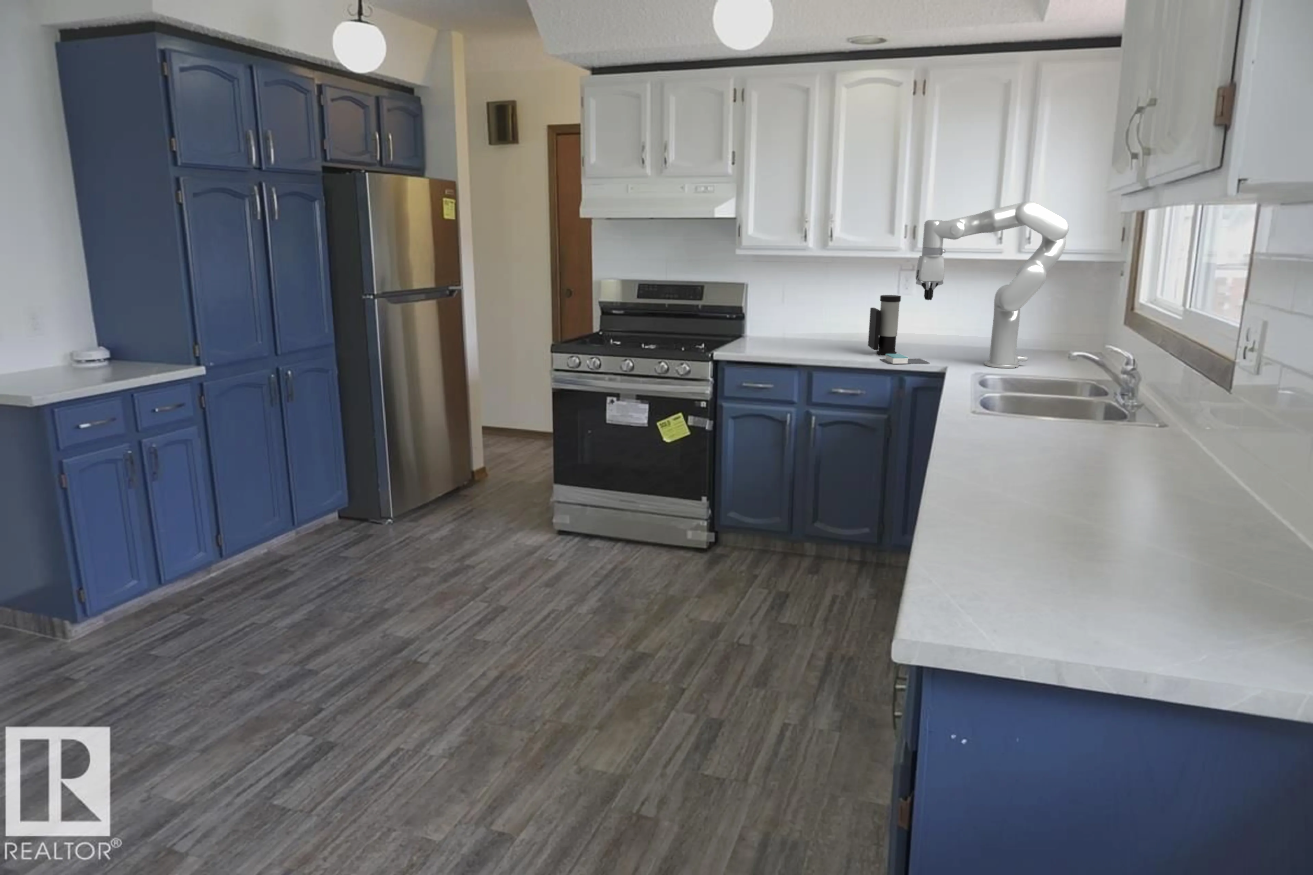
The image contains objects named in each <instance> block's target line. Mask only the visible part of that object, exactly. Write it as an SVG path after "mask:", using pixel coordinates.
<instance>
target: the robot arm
mask: <svg viewBox="0 0 1313 875" xmlns="http://www.w3.org/2000/svg"><path fill="white" fill-rule="evenodd" d="M1023 226H1027V227H1028V228H1030V229H1031V230H1032V231H1035V233H1038V234H1040V235H1041V237H1042V238H1041V243H1040V245H1039V246H1038V248H1037V249H1036V250H1035V251H1034V252H1033V254H1032V255H1031V256H1029V258H1028V259H1027V260H1026V261H1025V262H1024V263H1023V264H1022V265H1021V266H1020V267H1019V268H1018V270H1016V275H1015V277H1014V278H1013V279H1012V280H1011V282H1009V284H1004V285H1002V286H1000V287H999V288H998V289H997V290H996V292H995V294H994V302H993V318H992V327H991V339H990V345H989V346H990V348H989V358H988V360H985V361H984V365H985V366H988V367H991V368H992V367H993V368H1000V369H1014V368H1015V367H1016V368H1018V367H1019V365H1020V364H1019V363H1020V362H1027V361H1028V356H1026V355H1025V356H1023V355H1022V356H1020V355H1018V354H1017V344H1018V337H1019V326H1020V319H1021V316H1020V315H1021V308H1023V307H1024V306H1025V305H1026V303H1028V301H1030V299H1032V297H1033V296H1034V295H1036V293H1037V292H1038V291H1039V290H1040V289H1041V288H1042V287H1043V285H1044V284H1045V282H1046V280H1047V273H1048V272H1049V271H1050V269H1052V268H1053V267H1054V265H1055V264H1056V263H1057V262H1058V260H1059V259H1061V257H1062V255H1063V253H1064V250H1065V248H1066V242H1067V235H1068V234H1069V230H1070V228H1069V223H1068V221H1067V220H1066V219H1065V218H1063V217H1061V216H1060V215H1058V214H1056V213H1054V212H1053V211H1050V210H1049V209H1047V208H1045V207H1043V206H1042V205H1040V204H1038V203H1037V202H1034V201H1024V202H1020V203H1015V204H1010V205H1006V206H1003V207H1002V206H1000V207H997V208H992V209H988V210H985V211H982V212H979V213H975V214H971V215H966V216H963V217H958V218H954V219H949V220H940V219H927V220H925V222H924V225H923V237H922V247H921V249H922V250H921V255H919V257H918V259H917V265H916V271H915V281H916V282H915V285H918V286H921V287H922V288H923V290H924V293H923V298H924V300H925V301H932V300H933V297H934V291H935V289H936V288H937V287H938V286H941V285H944V280H945V279H944V278H945V258H944V256H943V254H945V253H946V252H947V251H946V249H944V248H943V245H944V239H946V240H947V239H948V240H953V241H956V240H959V239H961V238H965V237H967V236H972V235H977V234H990V233H996V232H1000V231H1005V230H1009V229H1014V228H1018V227H1023Z"/></svg>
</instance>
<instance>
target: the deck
mask: <svg viewBox="0 0 1313 875" xmlns="http://www.w3.org/2000/svg"><path fill="white" fill-rule="evenodd" d="M884 359H885V360H886V361H888V362H891V363H893V364H892V365H904V364H903V363H908V359H909V356H906V355H904V354H902V353H897V354H885V357H884Z"/></svg>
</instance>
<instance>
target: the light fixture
mask: <svg viewBox="0 0 1313 875" xmlns="http://www.w3.org/2000/svg"><path fill="white" fill-rule="evenodd" d="M879 300H880V309H878V308H876V307H870V310H869V324H868V325H869V326H868V338H867V339H868V342H867V347H869V348H871V349H872V350H874V351H876V355H877V356H883V357H884V356H885V354H898V353H897V351H896V346H897V345H896V344H897V336H898V325H899V316H900V315H899V313H900V302H901V301H902V296H901V295H897V294H893V295H892V294H883V295H879Z"/></svg>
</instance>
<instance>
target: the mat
mask: <svg viewBox="0 0 1313 875" xmlns="http://www.w3.org/2000/svg"><path fill="white" fill-rule="evenodd" d="M879 361H881V362H883V363H885V364H887V365H894V364H893V363H891V362H888V361H886V360H885V358H879ZM906 364H908V365H911V364H912V365H916V364H919V365H923V364H925V365H926V364H930V361H927V360H925V359H922V358H908V363H903V364H902V365H906Z"/></svg>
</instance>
